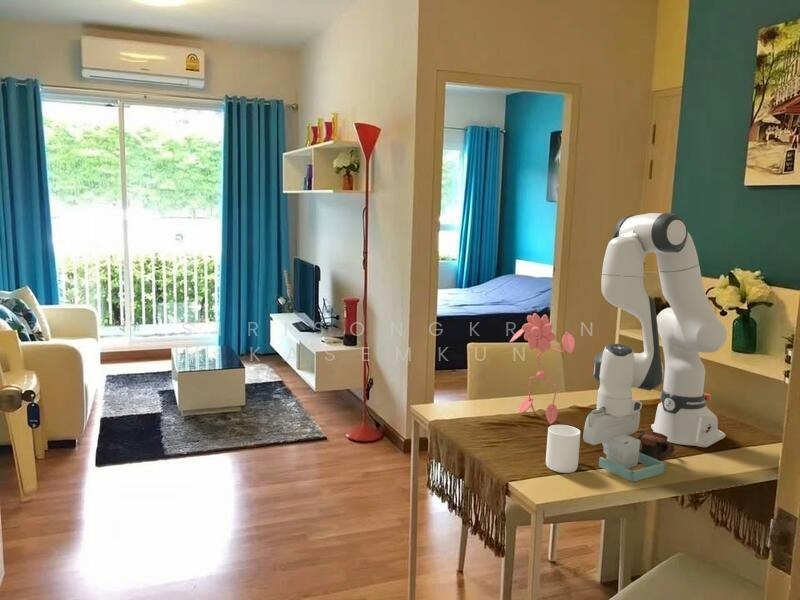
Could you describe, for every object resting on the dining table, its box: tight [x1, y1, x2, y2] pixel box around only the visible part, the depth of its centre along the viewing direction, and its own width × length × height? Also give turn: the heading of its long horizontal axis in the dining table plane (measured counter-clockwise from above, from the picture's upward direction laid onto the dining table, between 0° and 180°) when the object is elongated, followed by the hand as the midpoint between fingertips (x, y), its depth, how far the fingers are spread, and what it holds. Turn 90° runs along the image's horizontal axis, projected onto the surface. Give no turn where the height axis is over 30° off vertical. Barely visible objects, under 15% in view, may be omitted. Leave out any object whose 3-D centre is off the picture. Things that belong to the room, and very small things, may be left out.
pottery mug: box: [636, 430, 675, 461], centre depth 180 cm, size 12×10×8 cm
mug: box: [545, 424, 581, 474], centre depth 172 cm, size 12×8×10 cm
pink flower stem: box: [509, 312, 576, 432], centre depth 204 cm, size 15×26×35 cm, turn 39°
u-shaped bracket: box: [598, 452, 667, 483], centre depth 171 cm, size 13×11×2 cm
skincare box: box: [605, 434, 641, 470], centre depth 174 cm, size 6×6×7 cm
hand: (609, 453), depth 177 cm, fingers closed, pressing on skincare box
